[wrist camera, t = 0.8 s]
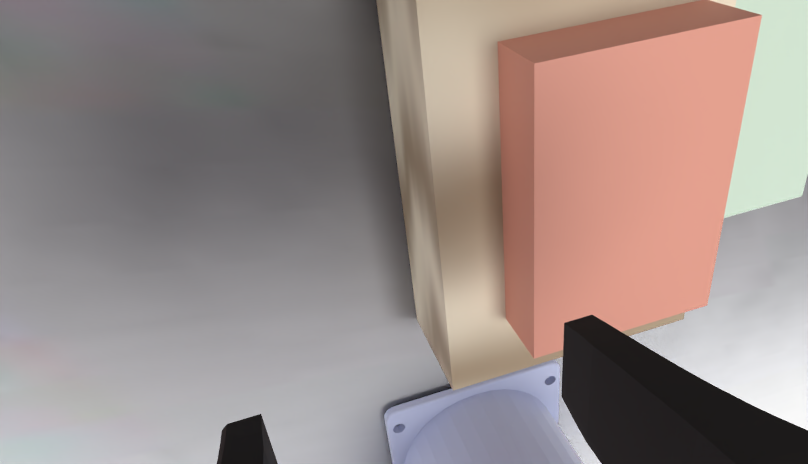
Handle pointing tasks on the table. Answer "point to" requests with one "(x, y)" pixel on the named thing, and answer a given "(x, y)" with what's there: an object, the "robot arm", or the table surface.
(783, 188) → the mat
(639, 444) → the robot arm
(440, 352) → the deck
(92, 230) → the table surface
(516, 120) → the salmon pink block
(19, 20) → the table surface
